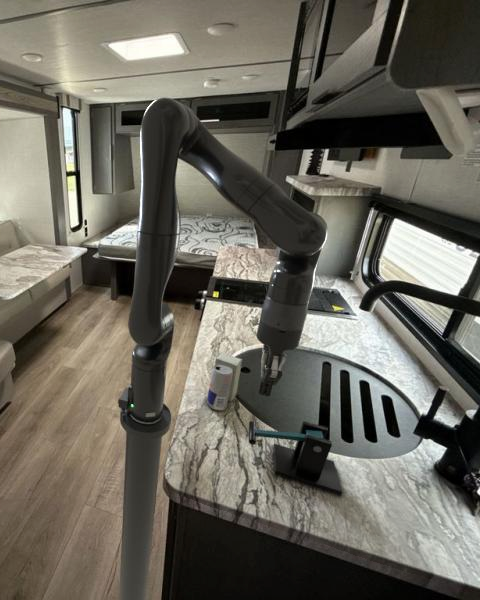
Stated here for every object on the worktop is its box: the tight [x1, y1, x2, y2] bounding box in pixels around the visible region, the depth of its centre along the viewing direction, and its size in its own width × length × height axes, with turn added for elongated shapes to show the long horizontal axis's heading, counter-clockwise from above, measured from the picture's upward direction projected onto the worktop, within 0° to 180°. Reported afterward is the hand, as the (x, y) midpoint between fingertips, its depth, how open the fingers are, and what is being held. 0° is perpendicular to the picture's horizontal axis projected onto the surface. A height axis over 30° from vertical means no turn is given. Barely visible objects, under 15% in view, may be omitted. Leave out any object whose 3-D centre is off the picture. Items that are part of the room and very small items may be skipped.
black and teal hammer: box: [248, 420, 324, 446], centre depth 67 cm, size 14×6×2 cm, turn 67°
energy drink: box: [206, 363, 233, 411], centre depth 85 cm, size 5×5×12 cm
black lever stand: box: [272, 420, 343, 497], centre depth 66 cm, size 12×8×11 cm, turn 67°
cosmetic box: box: [214, 352, 243, 402], centre depth 89 cm, size 6×4×12 cm
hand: (263, 393), depth 66 cm, fingers closed
